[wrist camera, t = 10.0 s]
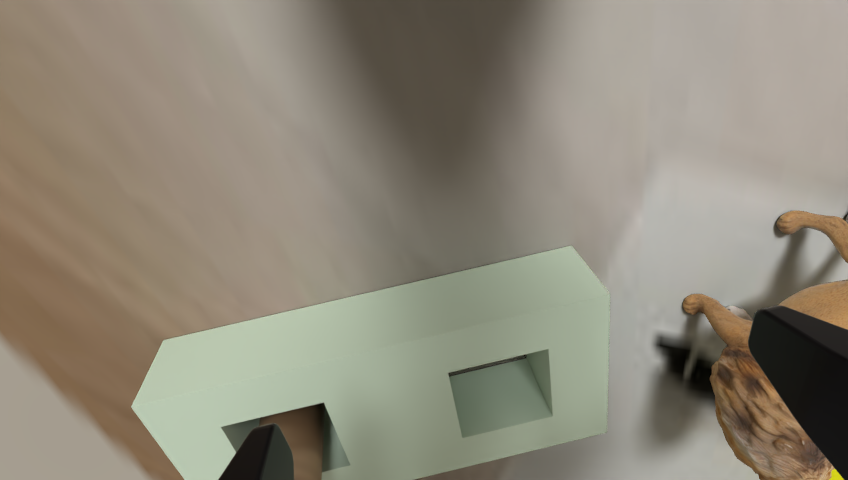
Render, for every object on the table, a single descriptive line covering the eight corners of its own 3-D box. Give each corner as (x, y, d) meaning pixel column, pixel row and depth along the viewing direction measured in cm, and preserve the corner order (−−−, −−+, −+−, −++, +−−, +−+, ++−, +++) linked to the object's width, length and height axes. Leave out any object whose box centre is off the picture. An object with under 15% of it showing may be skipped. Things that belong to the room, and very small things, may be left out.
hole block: (571, 245, 23) (610, 294, 20) (574, 374, 28) (606, 432, 25) (163, 340, 23) (131, 407, 19) (235, 456, 27) (219, 527, 24)
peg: (316, 354, 25) (301, 564, 16) (333, 393, 26) (326, 605, 18) (259, 367, 25) (211, 586, 16) (278, 406, 26) (245, 625, 17)
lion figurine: (690, 375, 30) (812, 521, 22) (631, 346, 28) (742, 495, 20) (902, 180, 24) (1161, 281, 17) (848, 128, 22) (1112, 214, 15)
